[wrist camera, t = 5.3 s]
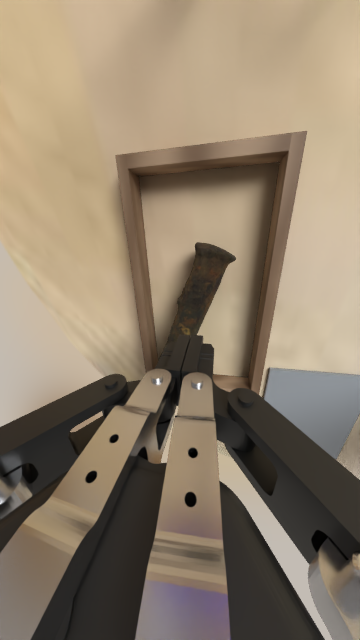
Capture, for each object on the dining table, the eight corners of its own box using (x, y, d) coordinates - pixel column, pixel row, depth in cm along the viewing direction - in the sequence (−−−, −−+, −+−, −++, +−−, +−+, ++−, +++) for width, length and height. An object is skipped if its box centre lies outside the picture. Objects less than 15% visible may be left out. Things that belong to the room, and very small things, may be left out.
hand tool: (200, 240, 20) (196, 235, 15) (234, 255, 20) (241, 255, 15) (144, 374, 26) (131, 398, 22) (170, 386, 26) (162, 412, 22)
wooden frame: (294, 145, 16) (307, 130, 13) (254, 383, 26) (258, 397, 24) (127, 164, 18) (115, 155, 16) (153, 373, 29) (147, 385, 27)
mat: (375, 376, 23) (377, 378, 22) (334, 456, 29) (336, 459, 29) (269, 367, 25) (270, 369, 25) (254, 444, 31) (254, 446, 31)
